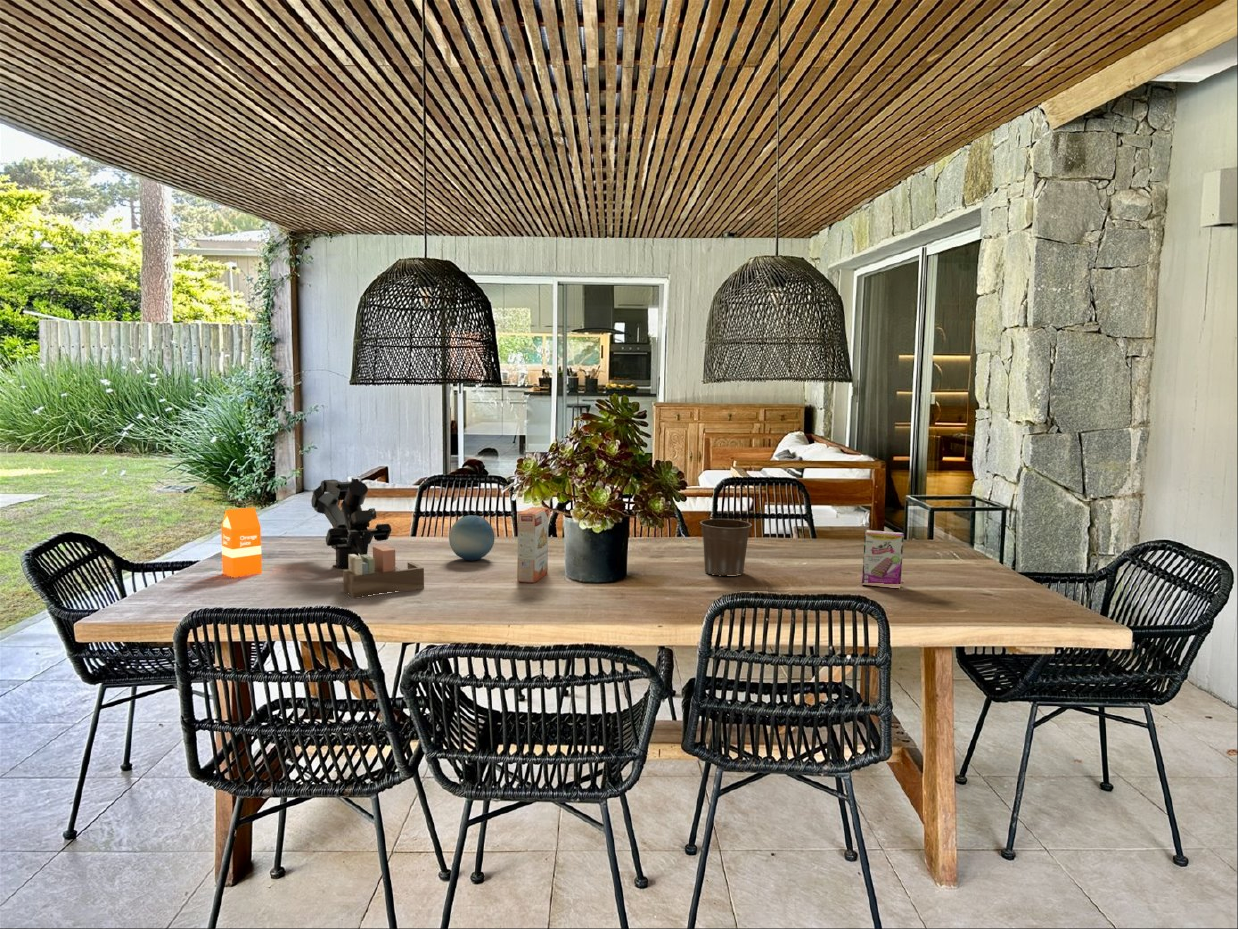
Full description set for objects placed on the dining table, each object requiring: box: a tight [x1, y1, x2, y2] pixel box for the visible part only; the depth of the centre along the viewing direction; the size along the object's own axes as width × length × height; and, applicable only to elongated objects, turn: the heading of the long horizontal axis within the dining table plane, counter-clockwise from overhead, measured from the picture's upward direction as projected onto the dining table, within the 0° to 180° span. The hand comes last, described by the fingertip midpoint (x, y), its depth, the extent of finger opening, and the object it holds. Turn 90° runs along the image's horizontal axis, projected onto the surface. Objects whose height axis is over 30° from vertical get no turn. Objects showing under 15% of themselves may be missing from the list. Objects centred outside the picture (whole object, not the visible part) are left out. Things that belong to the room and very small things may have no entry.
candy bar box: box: [861, 529, 905, 584], centre depth 244 cm, size 11×5×16 cm, turn 71°
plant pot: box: [699, 518, 753, 576], centre depth 258 cm, size 16×16×16 cm
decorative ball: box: [448, 514, 496, 561], centre depth 272 cm, size 15×15×15 cm
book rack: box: [342, 554, 425, 599], centre depth 232 cm, size 10×20×10 cm, turn 125°
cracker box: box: [516, 506, 550, 584], centre depth 248 cm, size 14×6×21 cm, turn 168°
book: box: [372, 544, 396, 573], centre depth 232 cm, size 8×4×12 cm, turn 37°
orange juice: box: [220, 506, 263, 578], centre depth 249 cm, size 8×9×20 cm
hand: (365, 557), depth 245 cm, fingers closed
